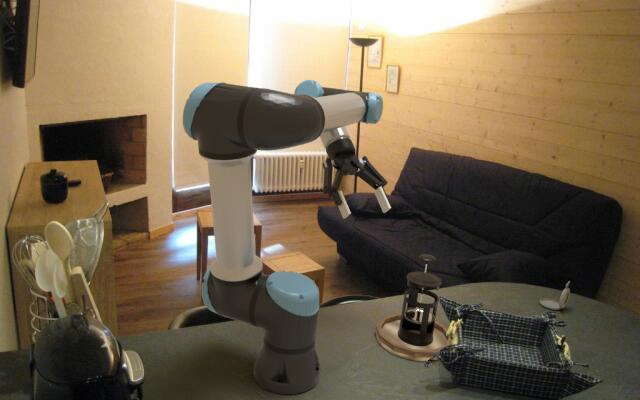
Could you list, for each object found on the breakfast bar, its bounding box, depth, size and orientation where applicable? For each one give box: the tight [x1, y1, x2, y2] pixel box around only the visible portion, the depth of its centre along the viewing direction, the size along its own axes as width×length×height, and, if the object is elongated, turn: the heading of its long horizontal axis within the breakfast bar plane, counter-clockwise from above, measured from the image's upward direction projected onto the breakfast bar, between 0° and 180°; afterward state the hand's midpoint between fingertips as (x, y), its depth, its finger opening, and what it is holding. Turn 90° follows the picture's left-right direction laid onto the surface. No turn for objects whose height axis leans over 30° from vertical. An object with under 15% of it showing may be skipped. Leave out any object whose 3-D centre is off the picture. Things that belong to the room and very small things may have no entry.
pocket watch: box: [539, 280, 571, 311], centre depth 166 cm, size 8×8×10 cm
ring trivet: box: [375, 312, 451, 362], centre depth 140 cm, size 20×20×2 cm
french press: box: [398, 254, 443, 346], centre depth 137 cm, size 12×9×23 cm
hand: (367, 213), depth 135 cm, fingers open, 13 cm apart
